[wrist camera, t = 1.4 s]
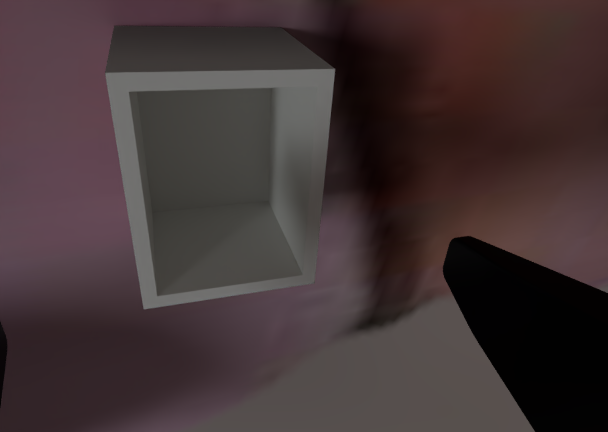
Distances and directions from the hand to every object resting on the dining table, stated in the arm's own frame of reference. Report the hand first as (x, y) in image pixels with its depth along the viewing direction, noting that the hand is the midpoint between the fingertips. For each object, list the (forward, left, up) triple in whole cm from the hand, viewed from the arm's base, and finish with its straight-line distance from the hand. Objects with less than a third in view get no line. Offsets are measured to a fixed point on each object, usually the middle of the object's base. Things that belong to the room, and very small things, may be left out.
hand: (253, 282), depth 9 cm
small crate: (0, 0, -8) cm, 8 cm away
